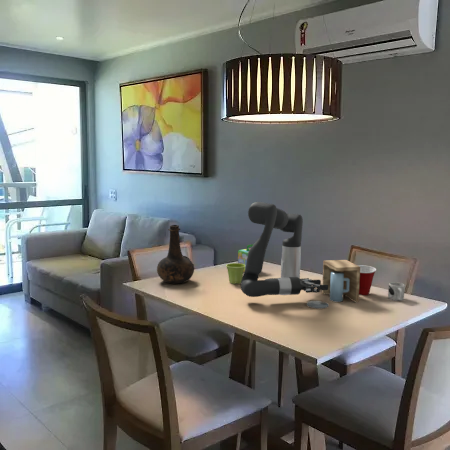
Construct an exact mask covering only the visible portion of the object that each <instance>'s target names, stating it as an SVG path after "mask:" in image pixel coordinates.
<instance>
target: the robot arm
mask: <svg viewBox="0 0 450 450" xmlns="http://www.w3.org/2000/svg"><path fill="white" fill-rule="evenodd" d="M247 210H248V211H247V213H248V215H247V216H248V219H249V220H250V222H251V223H253V224H258V225H262V226H263V225H264V227H263V231H262V233H261V235H260V236H259V237H258V239H256V241H255V242H254V243H253V244H254V245H253V246H252V247H251V246H250V248H251V249H250V250H249V253H248V256H247V262H246V268H245V271H244V272H243V277H242V281H241V283H240V290H241V291H242V293H243V294H244V295H246V296H247V297H250V298H257V297H264V296H277V295H278V296H279V295H280V296H294V295H295V296H296V295H297V296H298V295H300V293H301V291H303V292H305V293H306V294H308V293H309V294H310V293H320V292H321V291H322V290H328V285H322V281H321V279H312V278H309V277H307V278H306V277H305V278H301V253H302V252H301V251H302V250H301V249H302V236H303V217H302V215H301V214H298V213H297V214H296V213H287V212H286V211H285V210H283V209H281V208H278V207H277V206H276V204H273V203H268V202H262V201H255V202H253V203H251V204H250V206H249V207H248V209H247ZM274 229H275V230H279V231H282V232H284V233H292V234H293V236H291V237H288V238H284V239H283V240H282V244H281V245H282V246H281V247H282V249H281V260H280V277H275V278H273V277H270V278H265V279H259V275H260V274H261V273H262V271H263V267H264V261H265V256H266V252H267V249H268V244H269V242H270V239H271V236H272V232H273V230H274ZM258 279H259V280H258Z"/></svg>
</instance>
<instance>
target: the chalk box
mask: <svg viewBox="0 0 450 450" xmlns="http://www.w3.org/2000/svg"><path fill="white" fill-rule="evenodd" d="M253 245H254V243H253V244H252V243H251V244H247V245H246V248H244V249H238V251H237V263H240V264H244V265H245V267H244V271H245V268H246V262H247V256H248V253H249V250H250V249H251V247H252V246H253ZM244 271H243V273H244Z"/></svg>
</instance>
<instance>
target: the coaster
mask: <svg viewBox="0 0 450 450" xmlns="http://www.w3.org/2000/svg"><path fill="white" fill-rule="evenodd" d="M306 306H307V307H309V308H310V309H311V308H312V309H317V310H318V309H321V310H322V309H327V308H328V307H330V305H329V303H328V302H326V301H322V300H310V301H309V300H308V301H307V302H306Z"/></svg>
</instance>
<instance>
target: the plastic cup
mask: <svg viewBox="0 0 450 450" xmlns="http://www.w3.org/2000/svg"><path fill="white" fill-rule="evenodd" d="M358 266H359V267H360V281H359V296H360V295H361V296H369V295H370V291H371V288H372V283H373V279H374V276H375V274H376V271H377V268H376V267H374V266H370V265H365V264H364V265H363V264H362V265H358Z"/></svg>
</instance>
